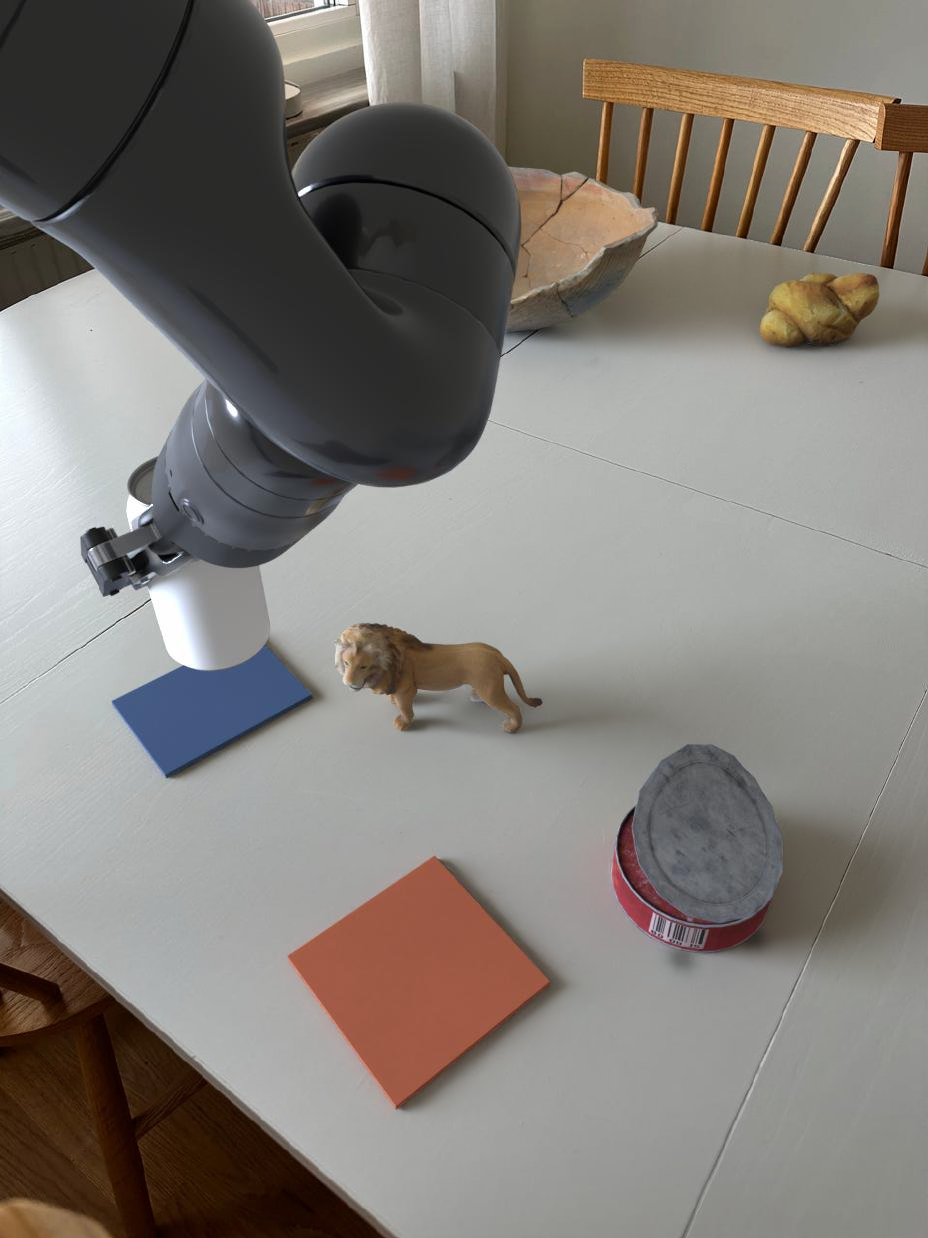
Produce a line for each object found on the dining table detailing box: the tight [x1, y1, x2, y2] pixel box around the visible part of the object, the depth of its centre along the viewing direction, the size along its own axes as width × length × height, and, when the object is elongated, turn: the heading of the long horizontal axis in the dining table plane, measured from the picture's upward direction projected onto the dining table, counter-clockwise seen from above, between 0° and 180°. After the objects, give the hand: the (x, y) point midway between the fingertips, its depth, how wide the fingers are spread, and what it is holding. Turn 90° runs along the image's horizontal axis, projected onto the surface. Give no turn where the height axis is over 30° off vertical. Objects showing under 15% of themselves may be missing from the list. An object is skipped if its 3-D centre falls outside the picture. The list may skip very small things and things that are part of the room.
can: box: [126, 455, 271, 671], centre depth 57 cm, size 6×6×12 cm
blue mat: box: [111, 644, 313, 779], centre depth 73 cm, size 12×9×1 cm
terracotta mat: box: [286, 855, 551, 1110], centre depth 57 cm, size 11×11×1 cm
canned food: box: [610, 743, 784, 953], centre depth 60 cm, size 11×10×10 cm
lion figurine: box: [334, 622, 544, 734], centre depth 69 cm, size 15×5×9 cm, turn 95°
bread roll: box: [758, 271, 880, 349], centre depth 113 cm, size 13×10×8 cm
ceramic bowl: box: [505, 165, 660, 333], centre depth 118 cm, size 30×27×15 cm
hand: (187, 548), depth 58 cm, fingers closed on can, 6 cm apart
